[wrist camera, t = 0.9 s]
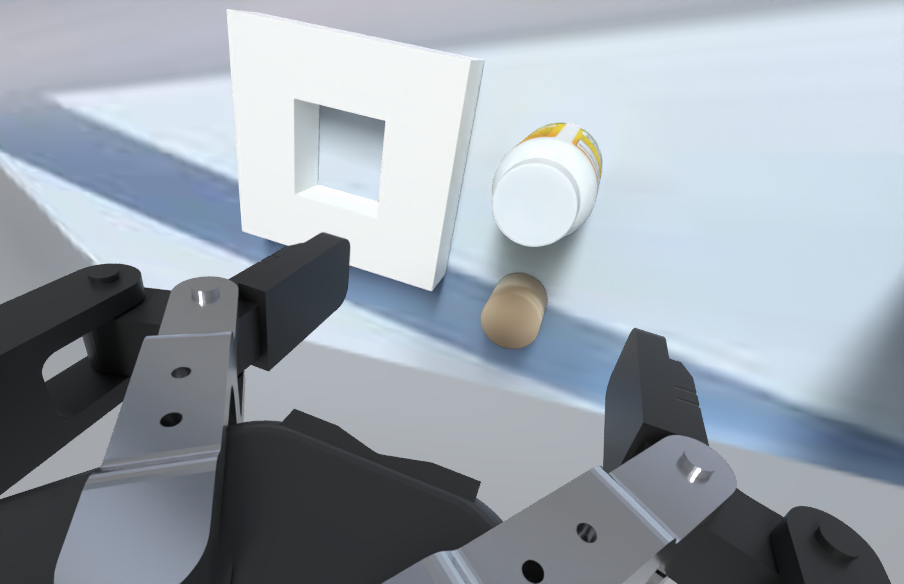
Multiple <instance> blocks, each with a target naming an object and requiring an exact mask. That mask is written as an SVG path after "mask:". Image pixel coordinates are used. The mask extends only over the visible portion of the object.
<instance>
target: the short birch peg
mask: <svg viewBox="0 0 904 584" xmlns="http://www.w3.org/2000/svg"><path fill="white" fill-rule="evenodd" d="M546 305H547V293H546V290H545V288H544V286H543V285H542V283H541V282H540V281H539V280H537V279H536V278H535V277H533V276H531V275H528V274H525V273H512V274H509V275H506V276H505V277H503V278H502V279H501V280H500V281H499V282H498V283H497V285H496V287H495V289H494V291H493V292H492V294H491V296H490V298H489V300H488V302H487V303H486V305H485V307H484V309H483V311H482V314H481V326H482V329H483V331H484V333H485V334H486V336H487V337H488V338H489V339H490V340H491V341H492V342H494V343H495V344H497V345H499V346H501V347H504V348H509V349H518V348H523V347H525V346H527V345H529V344H531V343H532V342H533V341H534V340H535V338H536V337H537V335H538V332H539V329H540V325H541V322H542V319H543V315H544V312H545V309H546Z"/></svg>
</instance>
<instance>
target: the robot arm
mask: <svg viewBox="0 0 904 584" xmlns="http://www.w3.org/2000/svg"><path fill="white" fill-rule="evenodd" d="M349 263H350V242H349V241H348V240H347V239H345V238H342V237H338V236H335V235H332V234H329V233H325V232H321V233H319V234H318V235H316V236H314V237H313V238H311V239H309V240H308V241H306V242H304V243H298V244H294V245H290V246H287V247H284V248H282V249H280V250H278V251H277V252H275V253H273V254H272V256H268V257H266V258H265V259H263V260H261V262H258V263H256V264H254V265H252V266H251V267H249V268H247V269H246V270H244V271H242V272H240V273H239V274H237V275H235V276H233V277H232V278H230V279H225V278H221V277H209V276H208V277H197V278H192V279H189V280H186V281H183V282H181V283H179V284H178V285H176V286H175V287H174V288H173V289H172V291H170V290H161V289H153V288H145V287H144V286H143V281H142V276H141V273H140V271H139V270H138V269H136V268H135V267H132V266H129V265H124V264H101V265H94V266H90V267H87V268H83V269H81V270H78V271H76V272H73V273H71V274H69V275H67V276H64V277H62V278H60V279H57V280H55V281H53V282H51V283H48V284H46V285H44V286H42V287H39V288H37V289H35V290H32V291H30V292H28V293H26V294H23V295H21V296H19V297H16V298H14V299H12V300H10V301H7V302H5V303H3V304H1V305H0V495H1V494H2V493H4V492H5V491H6V490H8V489H9V488H10V487H11V486H12V485H14V484H15V483H17V482H18V481H19V480H21V479H22V478H23V477H25V476H26V475H27V474H28V473H30V472H31V471H32V470H34V469H35V468H36V467H38V466H39V465H40V464H42V463H43V462H44V461H45V460H47V459H48V458H49V457H51V456H52V455H53V454H55V453H56V452H57V451H58V450H60V449H61V448H63V447H64V446H65V445H66V444H67V443H69V442H70V441H72V440H73V439H74V438H75V437H77V436H78V435H79V434H81V433H82V432H83V431H85V430H86V429H87V428H89V427H90V426H91V425H93V424H94V423H95V422H96V421H98V420H99V419H100V418H102V417H103V416H104V415H106V414H107V413H108V412H109V411H111V410H112V409H113V408H115V407H116V406H117V405H118V404H120V403H121V402H123V403H122V406H121V409H120V412H119V415H118V418H117V421H116V424H115V427H114V430H113V433H112V436H111V439H110V442H109V445H108V448H107V451H106V454H105V457H104V460H103V463H102V465H101V467H98V468H95V469H92V470H89V471H86V472H83V473H80V474H77V475H74V476H71V477H68V478H65V479H62V480H59V481H56V482H52V483H49V484H46V485H43V486H40V487H37V488H34V489H31V490H28V491H25V492H22V493H18V494H15V495H12V496H9V497H6V498H3V499H0V584H663V583H664V582H665V581H666V580H667V579H668V578H671V579H672V580H673V581H675V582H676V583H677V584H891V583H890V580H889V578H888V576H887V574H886V572H885V570H884V567H883V565H882V563H881V561H880V560H879V558H878V556H877V555H876V553H875V552H874V550H873V549H872V548H871V547H870V546H869V545H868V544H867V542H866V541H865V540H864V539H863V538H862V537H861V536H860V535H858V534H857V533H856V532H855V531H854V530H853V529H851V528H850V527H849V526H848V525H846V524H845V523H843V522H842V521H840V520H839V519H837V518H835V517H834V516H832V515H830V514H828V513H826V512H823V511H821V510H818V509H815V508H812V507H805V506H799V507H795V508H792V509H791V510H790V511H789V512H788V513H787V514H786V515H785V517H782V516H781V515H779V514H777V513H776V512H774V511H772V510H770V509H769V508H767V507H765V506H764V505H762V504H760V503H759V502H757V501H755V500H754V499H752V498H750V497H749V496H747V495H746V494H744V493H743V492H741V491H740V490H739V489H737V488H736V485H737V483H736V482H737V481H736V477H735V475H734V472H733V470H732V469H731V468H730V466H729V464H728V463H727V462H726V461H725V460H724V459H723V458H722V457H721V456H720V455H719V454H718V453H717V452H716V451H714V450H713V449H712V448H710V447H709V444H708V439H707V435H706V431H705V427H704V423H703V418H702V414H701V410H700V408H699V401H698V397H697V395H696V389H695V384H694V380H693V377H692V376H691V375H690V373H689V372H688V371H687V369H686V368H685V367H684V365H683V364H682V363H681V362H678V361H675V360H672V359H669V355H668V349H667V344H666V339H665V337H663V336H660V335H657V334H653V333H650V332H647V331H644V330H640V329H637V328H634V329H633V330H632V331H631V333H630V335H629V337H628V339H627V341H626V343H625V346H624V348H623V350H622V352H621V355H620V357H619V359H618V361H617V363H616V366H615V368H614V370H613V372H612V375H611V377H610V380H609V383H608V387H607V391H606V398H605V428H604V459H603V467H601V466H596V467H594V468H592V469H590V470H588V471H587V472H585V473H583V474H582V475H580V476H578V477H577V478H575V479H573V480H572V481H570V482H569V483H567V484H565V485H564V486H562V487H560V488H559V489H557V490H555V491H554V492H552V493H550V494H549V495H547V496H545V497H544V498H542V499H540V500H539V501H537V502H536V503H534V504H532V505H530V506H529V507H527V508H525V509H524V510H522V511H521V512H519V513H517V514H516V515H514V516H512V517H511V518H509V519H508V520H506V521H504V522H503V521H502V520H501V519H500V518H499V517H498V516H497V515H496V513H494V512H493V511H492V510H491V509H490V508H489V507H488V506H487V505H485V504H484V503H483V502H481V501H480V500H479V499H477V498H476V496H477V493H478V489H479V486H480V483H481V482H480V481H478V480H475V479H473V478H470V477H467V476H465V475H462V474H460V473H457V472H455V471H452V470H449V469H447V468H444V467H442V466H439V465H437V464H434V463H431V462H425V461H418V460H412V459H406V458H399V457H393V456H386V455H381V454H378V453H376V452H374V451H372V450H371V449H370V448H368V447H367V446H365V445H364V444H363V443H361V442H360V441H358V440H357V439H356V438H354V437H353V436H351V435H350V434H348V433H347V432H346V431H344V430H343V429H341V428H340V427H339V426H337V425H334V424H332V423H329V422H327V421H324V420H322V419H319V418H316V417H314V416H312V415H309V414H306V413H304V412H301V411H299V410H296V409H294V410H293V411H292V412H291V413H290V414H289V415H288V416H287V417H286V418H285V419H284V420H283V422H280V421H250V422H243V420H244V396H245V371H244V370H245V369H246V368H247V367H249V366H250V365H253V366H256V367H258V368H261V369H264V370H266V371H270V370H271V369H272V368H273V367H274V366H275V365H276V364H277V363H278V362H280V361H281V360H282V359H283V358H284V357H285V356H286V355H287V354H288V353H289V352H291V351H292V350H293V349H294V348H295V347H296V346H297V345H298V344H299V343H300V342H302V341H303V340H304V339H305V338H306V337H307V336H308V335H309V334H310V333H311V332H313V331H314V330H315V329H316V328H317V327H318V326H319V325H320V324H321V323H322V322H324V321H325V320H326V319H327V318H328V317H329V316H330V315H331V314H332V313H333V312H335V311H336V310H337V309H338V308H339V307H340V306H341V304H342V303H343V301H344V299H345V297H346V294H347V290H348V279H349ZM80 337H83V340H84V343H85V347H86V350H87V353H88V356H87V357H85V358H83V359H82V360H80V361H79V362H77V363H75V364H74V365H72V366H71V367H69V368H67V369H66V370H64V371H62V372H61V373H59V374H58V375H56V376H54V377H53V378H51V379H50V380H48V381H46V382H44V379H43V376H42V368H43V365H44V363H45V361H46V360H47V359H48V357H49V356H50V355H52V354H53V353H54V352H56V351H57V350H59V349H61V348H63V347H64V346H66V345H68V344H69V343H71V342H73V341H75V340H76V339H78V338H80Z"/></svg>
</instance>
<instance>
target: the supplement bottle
mask: <svg viewBox="0 0 904 584" xmlns="http://www.w3.org/2000/svg"><path fill="white" fill-rule="evenodd" d="M601 173H602V155H601V151H600V148H599V146H598V144H597V142H596V140H595V139H594V138H593V136H592V135H591V134H590V133H589V132H587V131H586V130H585V129H583V128H582V127H580V126H578V125H575V124H572V123H565V122H557V123H551V124H548V125H545V126H543V127H541V128H539V129H537V130H535V131H534V132H533V133H531V134H530V135H529V136H528V137H526V138H525V139H524V140H523V141H522V142H520V143H519V144H518V145H516V146H515V147H514V148H513V149H512V150H511V151H509V152H508V153H507V154H506V156H505V157H504V158H503V159H502V161H501V162H500V164H499V166H498V168H497V170H496V172H495V175H494V179H493V185H492V196H493V198H492V212H493V217H494V220H495V222H496V224H497V226H498V227H499V229H500V230H501V232H502V233H503V234H504V235H505V236H507V237H508V238H509V239H510V240H512V241H514V242H516V243H518V244H520V245H523V246H528V247H541V246H546V245H550V244H552V243H554V242H556V241H558V240H560V239H561V238H563V237H565V236H567V235H569V234H571V233H573V232H574V231H575V230H577V229H578V228H579V227H580V226H581V225H582V224H583V223H584V222H585V221H586V220H587V218H588V217H589V215H590V214H591V212H592V209H593V207H594V204H595V201H596V198H597V193H598V188H599V183H600V178H601Z"/></svg>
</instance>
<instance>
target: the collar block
mask: <svg viewBox="0 0 904 584" xmlns="http://www.w3.org/2000/svg"><path fill="white" fill-rule="evenodd" d="M227 21H228V35H229V50H230V64H231V78H232V93H233V107H234V121H235V136H236V150H237V164H238V179H239V193H240V207H241V222H242V231H244V232H247V233H250V234H253V235H256V236H259V237H262V238H266V239H269V240H272V241H275V242H278V243H281V244H284V245H288V246H290V245H294V244H298V243H304V242H306V241H308V240H309V239H311V238H313V237H314V236H316V235H318V234H319V233H321V232H325V233H329V234H332V235H335V236H338V237H342V238H345V239H347V240H348V241H349V242H350V263H349V265H350V266H354V267H357V268H360V269H363V270H366V271H369V272H372V273H376V274H379V275H382V276H385V277H388V278H391V279H394V280H398V281H401V282H404V283H407V284H410V285H413V286H416V287H420V288H423V289H426V290H429V291H432V290H433V289H434V288H435V287H436V285H437V284H438V283H439V282H440V280H441V279H442V278H443V277H444V275H445V273H446V268H447V262H448V257H449V251H450V246H451V240H452V235H453V229H454V224H455V218H456V213H457V207H458V202H459V196H460V191H461V185H462V180H463V174H464V169H465V164H466V158H467V153H468V147H469V142H470V136H471V131H472V125H473V120H474V114H475V109H476V103H477V98H478V92H479V87H480V81H481V76H482V70H483V65H484V60H482V59H478V58H473V57H468V56H463V55H459V54H454V53H449V52H444V51H439V50H435V49H430V48H425V47H420V46H416V45H411V44H406V43H401V42H396V41H392V40H387V39H382V38H377V37H373V36H368V35H363V34H358V33H353V32H349V31H344V30H339V29H334V28H330V27H325V26H320V25H315V24H311V23H306V22H301V21H296V20H291V19H287V18H282V17H277V16H272V15H268V14H263V13H257V12H249V11H240V10H231V9H227ZM320 105H323V106H327V107H331V108H335V109H339V110H343V111H347V112H351V113H355V114H359V115H363V116H367V117H371V118H375V119H380V120H384V121H385V132H384V143H383V154H382V165H381V177H380V188H379V199H378V202H377V201H374V200H370V199H367V198H363V197H360V196H356V195H353V194H349V193H346V192H342V191H339V190H335V189H332V188H328V187H325V186H321V185H318V157H319V106H320Z"/></svg>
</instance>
